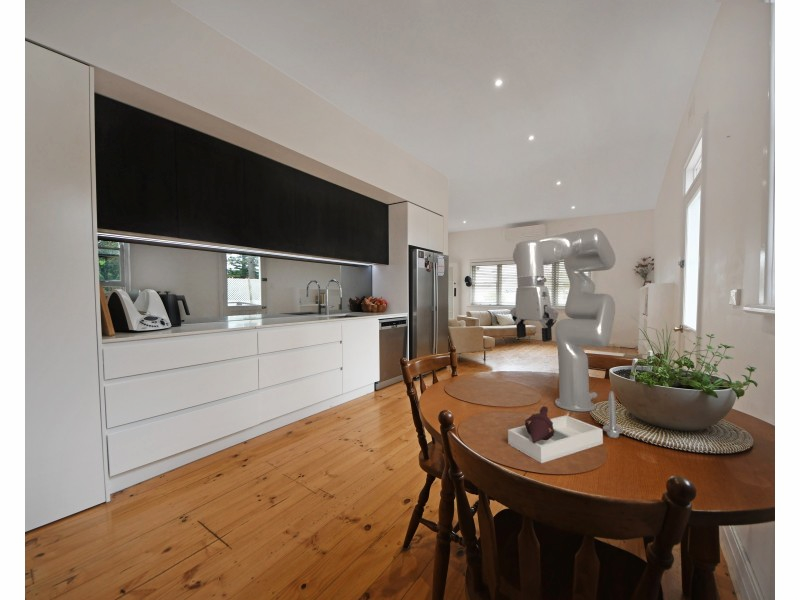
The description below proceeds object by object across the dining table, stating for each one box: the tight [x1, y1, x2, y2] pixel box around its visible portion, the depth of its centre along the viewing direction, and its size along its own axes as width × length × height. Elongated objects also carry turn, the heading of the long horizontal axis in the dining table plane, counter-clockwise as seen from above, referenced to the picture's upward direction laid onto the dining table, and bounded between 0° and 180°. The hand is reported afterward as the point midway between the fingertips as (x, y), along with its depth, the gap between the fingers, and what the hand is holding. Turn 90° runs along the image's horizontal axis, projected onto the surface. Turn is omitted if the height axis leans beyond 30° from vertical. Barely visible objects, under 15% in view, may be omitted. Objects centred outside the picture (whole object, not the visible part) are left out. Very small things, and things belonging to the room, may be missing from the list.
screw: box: [602, 390, 624, 439], centre depth 92 cm, size 13×5×5 cm
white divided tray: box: [507, 415, 604, 464], centre depth 89 cm, size 22×12×4 cm, turn 113°
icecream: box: [524, 406, 555, 443], centre depth 86 cm, size 7×7×15 cm
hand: (533, 339), depth 98 cm, fingers open, 9 cm apart
